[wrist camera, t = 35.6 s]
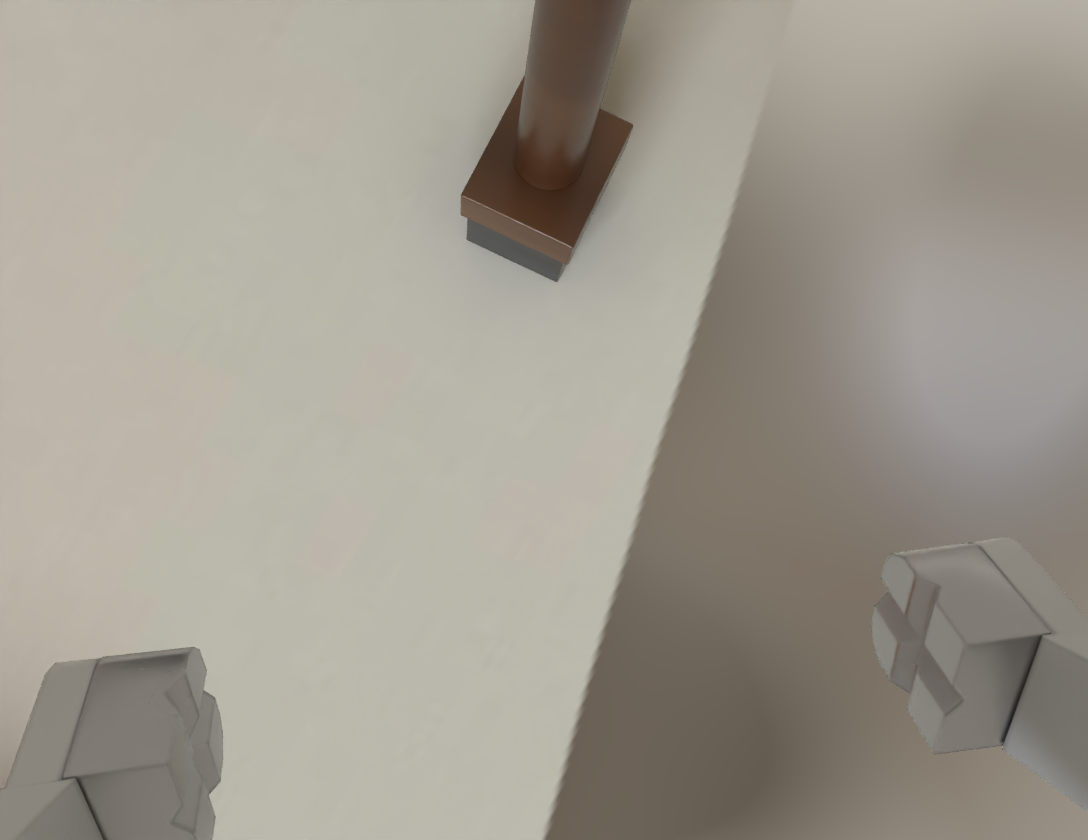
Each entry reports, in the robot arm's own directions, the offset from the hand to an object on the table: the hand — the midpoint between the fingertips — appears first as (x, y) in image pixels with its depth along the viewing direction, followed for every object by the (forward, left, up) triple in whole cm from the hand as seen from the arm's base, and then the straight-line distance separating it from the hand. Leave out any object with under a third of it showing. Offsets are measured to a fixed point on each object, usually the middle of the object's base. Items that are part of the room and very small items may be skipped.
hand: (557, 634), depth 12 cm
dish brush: (+6, -15, -23) cm, 28 cm away
